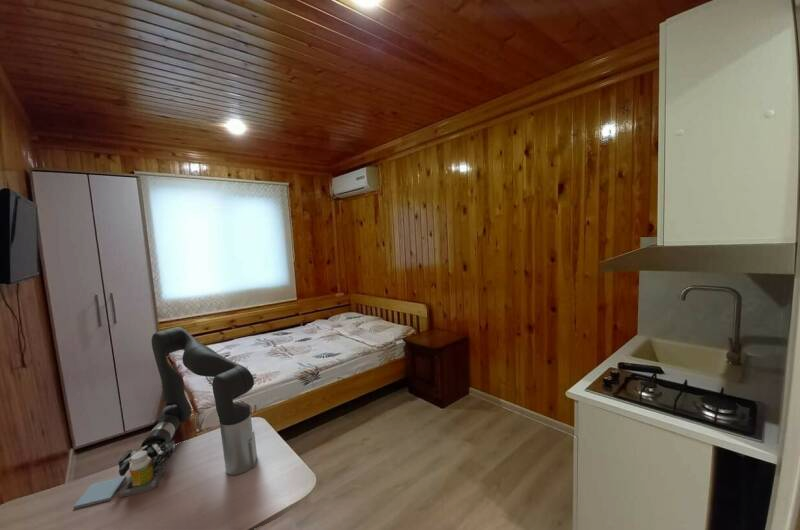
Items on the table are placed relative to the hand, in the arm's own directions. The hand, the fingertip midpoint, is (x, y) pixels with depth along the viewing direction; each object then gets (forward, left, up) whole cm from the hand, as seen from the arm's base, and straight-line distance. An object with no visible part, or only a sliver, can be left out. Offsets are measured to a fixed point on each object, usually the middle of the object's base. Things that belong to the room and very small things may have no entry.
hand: (137, 469), depth 101 cm
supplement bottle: (0, -2, -6) cm, 6 cm away
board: (+11, -2, -6) cm, 13 cm away
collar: (0, -2, -6) cm, 6 cm away
